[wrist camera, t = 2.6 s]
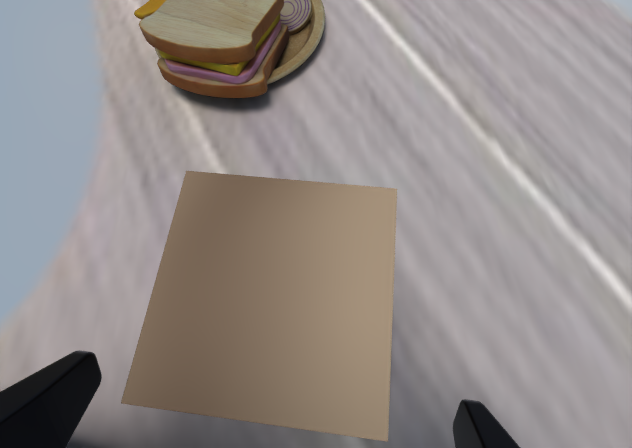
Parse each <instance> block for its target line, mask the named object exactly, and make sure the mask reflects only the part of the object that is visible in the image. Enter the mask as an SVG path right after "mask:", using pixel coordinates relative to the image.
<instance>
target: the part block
mask: <svg viewBox="0 0 632 448" xmlns="http://www.w3.org/2000/svg"><path fill="white" fill-rule="evenodd" d="M396 205H397V189H394V188H382V187H370V186H358V185H347V184H335V183H323V182H311V181H300V180H288V179H276V178H264V177H253V176H241V175H229V174H217V173H206V172H194V171H186V174H185V178H184V181H183V185H182V188H181V192H180V195H179V199H178V202H177V206H176V209H175V213H174V217H173V220H172V224H171V227H170V231H169V234H168V238H167V241H166V245H165V248H164V252H163V256H162V259H161V263H160V266H159V270H158V273H157V277H156V280H155V284H154V288H153V291H152V295H151V298H150V302H149V305H148V309H147V312H146V316H145V319H144V323H143V327H142V330H141V334H140V337H139V341H138V344H137V348H136V351H135V355H134V358H133V362H132V366H131V369H130V373H129V376H128V380H127V383H126V387H125V390H124V394H123V398H122V401H121V403H122V404H129V405H136V406H143V407H150V408H157V409H164V410H171V411H178V412H185V413H192V414H199V415H206V416H213V417H220V418H227V419H234V420H241V421H248V422H255V423H262V424H269V425H276V426H283V427H290V428H297V429H303V430H310V431H317V432H324V433H331V434H338V435H345V436H352V437H359V438H366V439H373V440H380V441H387V442H388V424H389V397H390V370H391V342H392V315H393V287H394V260H395V233H396Z"/></svg>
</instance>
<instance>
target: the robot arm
mask: <svg viewBox="0 0 632 448" xmlns="http://www.w3.org/2000/svg"><path fill="white" fill-rule="evenodd" d="M101 378H102V375H101V371H100V368H99V365H98V362H97V358H96V356H95V354H94V353H92V352H86V351H75V352H73V353H71V354H69V355H67V356H65V357H63V358H62V359H60V360H58V361H56V362H54V363H52V364H51V365H49V366H47V367H45V368H43V369H41V370H40V371H38V372H36V373H34V374H32V375H30V376H29V377H27V378H25V379H23V380H21V381H19V382H18V383H16V384H14V385H12V386H10V387H8V388H7V389H5V390H3V391H1V392H0V448H65V447H66V445H67V443H68V441H69V440H70V438H71V436H72V434H73V433H74V431H75V429H76V427H77V425H78V423H79V422H80V420H81V418H82V416H83V414H84V412H85V411H86V409H87V407H88V405H89V403H90V402H91V400H92V398H93V396H94V394H95V392H96V391H97V389H98V387H99V385H100V382H101ZM453 434H454V441H455V447H456V448H520V447H519V446H518V444H517V443H516V442H515V441H514V440H513V439H512V437H511V436H510V435H509V434H508V433H507V431H506V430H505V429H504V428H503V427H502V426H501V424H500V423H499V422H498V421H497V420H496V419H495V417H494V416H493V415H492V414H491V413H490V412H489V410H488V409H487V408H486V407H485V406H484V405H483V404H482V403H481V402H479V401H473V400H462V401H461V402H460V405H459V407H458V410H457V413H456V416H455V419H454V422H453Z"/></svg>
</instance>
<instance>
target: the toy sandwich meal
mask: <svg viewBox="0 0 632 448" xmlns="http://www.w3.org/2000/svg"><path fill="white" fill-rule="evenodd" d="M134 15H135V16H136V17H137V18H139V19H142V20H141V21H140V23H139V26H140V28H141V31H142V33H143V35H144V37H145V39H146V40H147V42H148V43H149V44H150V45H152V46H153V47H155V50H156V52H157V55H158V57H159V58H160V59H159V60H158V63H157V64H158V67H159V69H160V71H161V73H162V76H163V77H164V79H165V80H167V81H168V82H169V83H171V84H173V85H175V86H176V87H179V88H181V89H183V90H187V91H190V92H193V93H197V94H201V95H206V96H213V97H222V98H247V97H255V96H259V95H262V94H264V93H266V92H267V84H270V83H272V82H275V81H277V80H279V79H281V78H283V77H285V76H286V75H288V74H290V73H291V72H293V71H294V70H295V69H297V68H298V67H299V66H300V65H302V64H303V63H304V62H305V61H306V60H307V59H308V58H309V56H310V55H311V54H312V53H313V51H314V50H315V48H316V47H317V45H318V43H319V41H320V39H321V37H322V34H323V30H324V24H325V12H324V7H323V4H322V1H321V0H150V1H148V2H147V3H146V4H145V5H143V6H142V7H140V8H139V9H137V10H136V11H135V12H134Z"/></svg>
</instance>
